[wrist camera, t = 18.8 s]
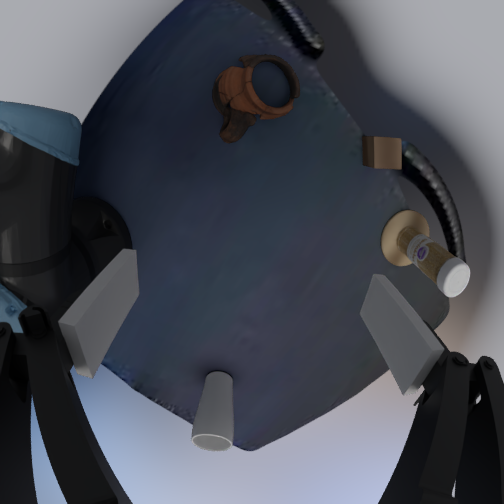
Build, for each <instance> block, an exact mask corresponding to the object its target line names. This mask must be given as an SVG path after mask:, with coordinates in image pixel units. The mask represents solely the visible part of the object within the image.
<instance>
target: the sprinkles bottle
mask: <svg viewBox="0 0 504 504" xmlns="http://www.w3.org/2000/svg"><path fill="white" fill-rule="evenodd" d="M397 247H398V249H399V251H400V252H401V253H403V254H404V255H406V256H407V257H408V258H409V260H410V261H411V262H413V263H414V264H415V265H416V266H417V267H418V268H419V269H420V270H421V271H422V272H423V273H424V274H425V275H426V276H428V277H429V278H430V279H432V280H433V281H434V282H435V283H436V284H437V286H438V288H439V289H440V290H441V291H442V292H443V293H444V294H445V295H446V296H447V297H455V296H457V295H459V294H460V293H461V292H462V291H463V290H464V289H465V287H466V286H467V284H468V282H469V278H470V269H469V266H468V265H467V264H466V263H465V262H464V261H462V260H461V259H459V258H457V257H455V256H453V255H452V254H451V253H449V252H448V251H447V250H446V249H445V248H443V247H442V246H440V245H439V244H438V243H436V242H435V241H433V240H432V239H431V238H429V237H428V236H425V235H424V234H423V233H421V232H420V231H419V230H418V229H417V228H415V227H407V228H405V229H403V230H402V231H401V233H400V234H399V236H398V239H397Z"/></svg>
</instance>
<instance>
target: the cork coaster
mask: <svg viewBox="0 0 504 504" xmlns="http://www.w3.org/2000/svg"><path fill="white" fill-rule="evenodd" d="M407 227H415V228H417V229H418V230H419V231H420V232H421V233H423V234H424V235H425V236H428V237H429V226H428V223H427V221H426V219H425V218H424V217H423V216H422V215H421V214H419V213H418V212H416V211H413V210H403V211H400V212H398V213H396V214H395V215H394V216H392V217H391V218H390V219H389V221H388V222H387V223H386V225H385V227H384V229H383V232H382V235H381V249H382V252H383V254H384V256H385V258H386V259H387V260H388V261H389V262H390V263H392V264H394V265H397V266H406V265H409V264H411V263H413V262H411V261H410V260H409V258H408V257H407V256H406V255H404V254H403V253H401V252H400V251H399V249H398V247H397V239H398V236H399V234H400V233H401V231H402V230H403V229H405V228H407Z"/></svg>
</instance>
